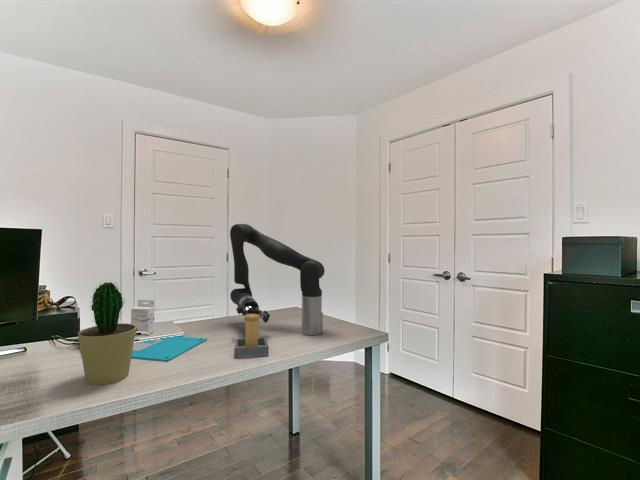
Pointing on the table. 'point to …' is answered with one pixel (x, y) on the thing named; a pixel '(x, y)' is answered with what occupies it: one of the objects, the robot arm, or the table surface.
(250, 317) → the tan capped post
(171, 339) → the teal flat board
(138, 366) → the table surface
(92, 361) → the potted cactus
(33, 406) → the table surface
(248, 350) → the housing
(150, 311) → the ink cartridge box
